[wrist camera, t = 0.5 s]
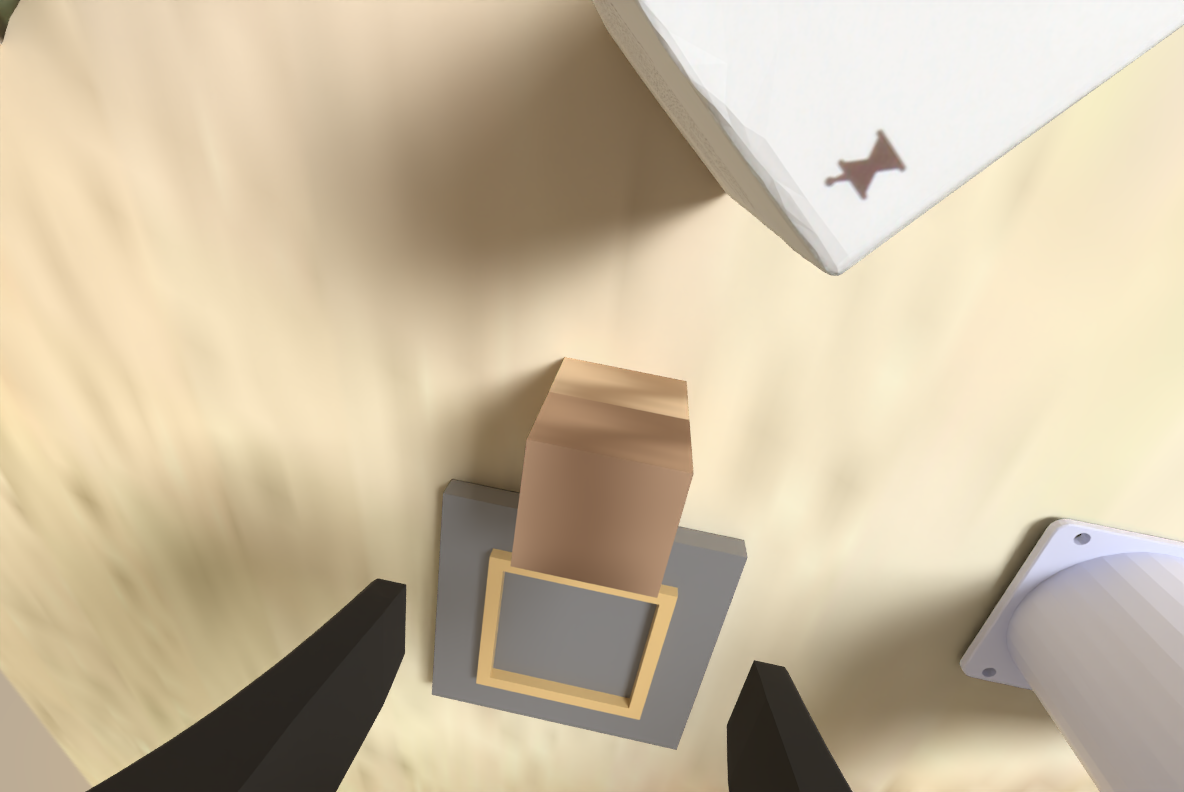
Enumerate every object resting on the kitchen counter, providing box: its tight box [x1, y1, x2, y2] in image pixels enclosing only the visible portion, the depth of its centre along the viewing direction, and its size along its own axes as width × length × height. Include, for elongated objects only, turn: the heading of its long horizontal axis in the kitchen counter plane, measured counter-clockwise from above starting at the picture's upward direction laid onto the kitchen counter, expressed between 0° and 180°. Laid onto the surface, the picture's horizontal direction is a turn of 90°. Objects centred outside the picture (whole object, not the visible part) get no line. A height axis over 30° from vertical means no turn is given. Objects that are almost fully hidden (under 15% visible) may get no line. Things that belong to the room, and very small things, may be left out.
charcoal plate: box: [432, 479, 747, 750], centre depth 24 cm, size 12×12×2 cm
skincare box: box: [592, 0, 1184, 276], centre depth 10 cm, size 6×4×12 cm
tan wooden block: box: [511, 357, 693, 598], centre depth 18 cm, size 4×4×6 cm
